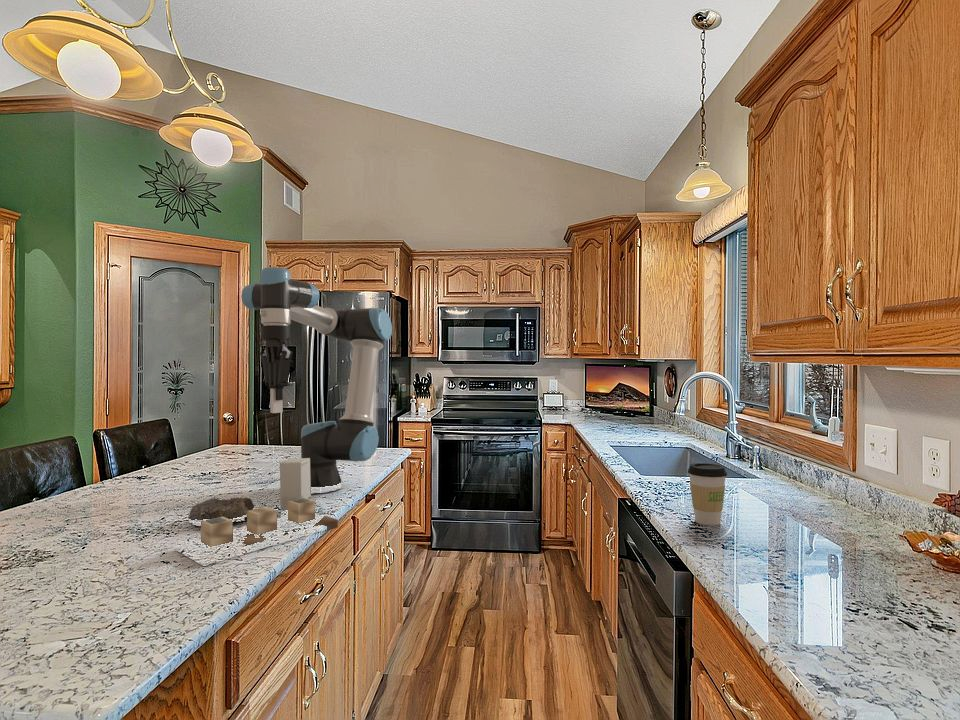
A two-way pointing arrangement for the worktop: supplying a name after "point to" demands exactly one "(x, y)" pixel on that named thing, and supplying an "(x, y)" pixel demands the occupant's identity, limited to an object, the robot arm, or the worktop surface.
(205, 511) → the rock
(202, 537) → the marked block 1
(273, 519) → the plain beech block
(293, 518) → the marked block 2
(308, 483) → the skincare box
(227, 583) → the worktop surface
